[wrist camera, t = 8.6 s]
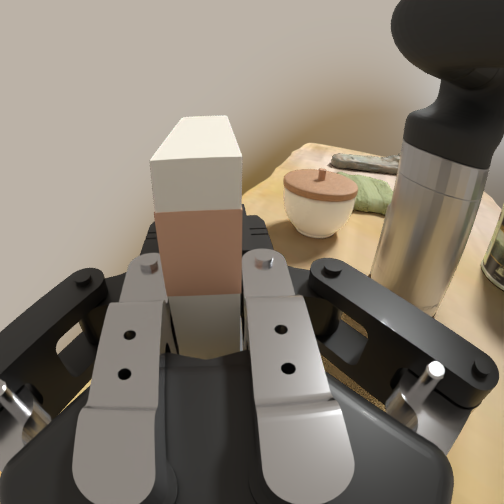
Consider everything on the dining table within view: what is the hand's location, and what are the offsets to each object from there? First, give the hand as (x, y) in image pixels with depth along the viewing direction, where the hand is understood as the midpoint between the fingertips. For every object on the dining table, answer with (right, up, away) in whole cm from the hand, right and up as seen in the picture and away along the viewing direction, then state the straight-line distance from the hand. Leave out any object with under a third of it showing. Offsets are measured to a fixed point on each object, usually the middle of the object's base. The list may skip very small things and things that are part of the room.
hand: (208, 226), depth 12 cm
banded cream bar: (0, -10, +3) cm, 10 cm away
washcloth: (+25, +10, +46) cm, 53 cm away
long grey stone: (+40, +22, +66) cm, 80 cm away
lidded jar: (+11, +2, +33) cm, 35 cm away
